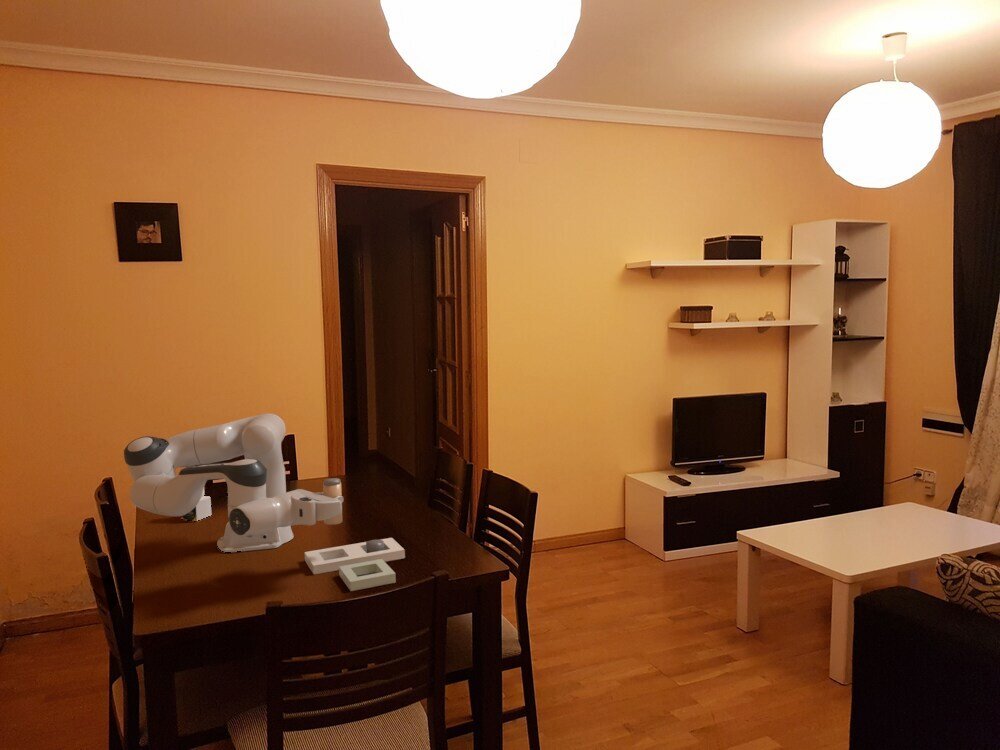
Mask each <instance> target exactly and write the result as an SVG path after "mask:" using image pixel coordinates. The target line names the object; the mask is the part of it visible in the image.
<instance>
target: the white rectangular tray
mask: <svg viewBox="0 0 1000 750" xmlns="http://www.w3.org/2000/svg"><path fill="white" fill-rule="evenodd" d="M405 558H406V550H405V549H404V547H402V546H401V545H400V544H399V543H398V542H397V541H396V540H395V539H394V538H393V537H388V538H380V539H371V540H367V541H364V542H358V543H352V544H350V543H349V544H346V545H340V546H338V545H337V546H333V547H327V548H322V549H316V550H315V549H314V550H310V551H305V552H304V561H305V563H306V565H307V566H308V568H309V569H310V571H311V573H312V574H313V575H319V574H324V573H330V572H331V573H332V572H335V571H339V566H345V565H351V564H356V563H362V562H367V561H373V560H379V559H383V561H384V562H385V563H387V562H391V561H397V560H401V559H405Z"/></svg>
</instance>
